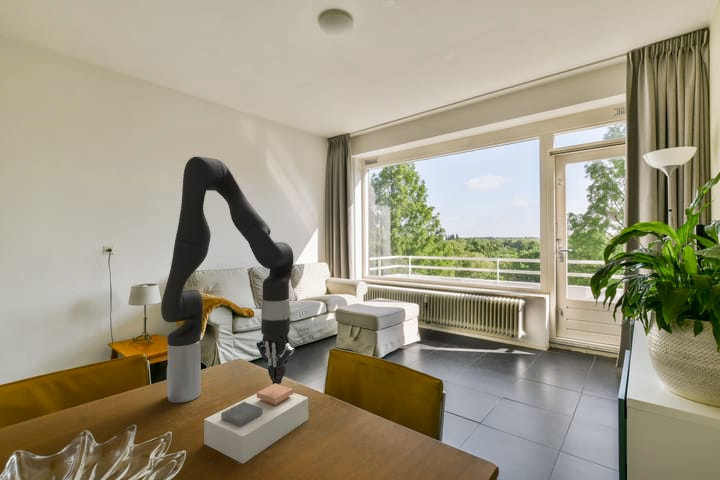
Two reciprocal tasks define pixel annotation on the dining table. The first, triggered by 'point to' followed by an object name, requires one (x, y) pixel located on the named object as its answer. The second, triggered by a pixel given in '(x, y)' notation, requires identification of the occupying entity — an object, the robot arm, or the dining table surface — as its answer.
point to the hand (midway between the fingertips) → (275, 379)
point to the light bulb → (283, 369)
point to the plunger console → (255, 427)
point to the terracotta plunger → (275, 394)
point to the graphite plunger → (241, 414)
